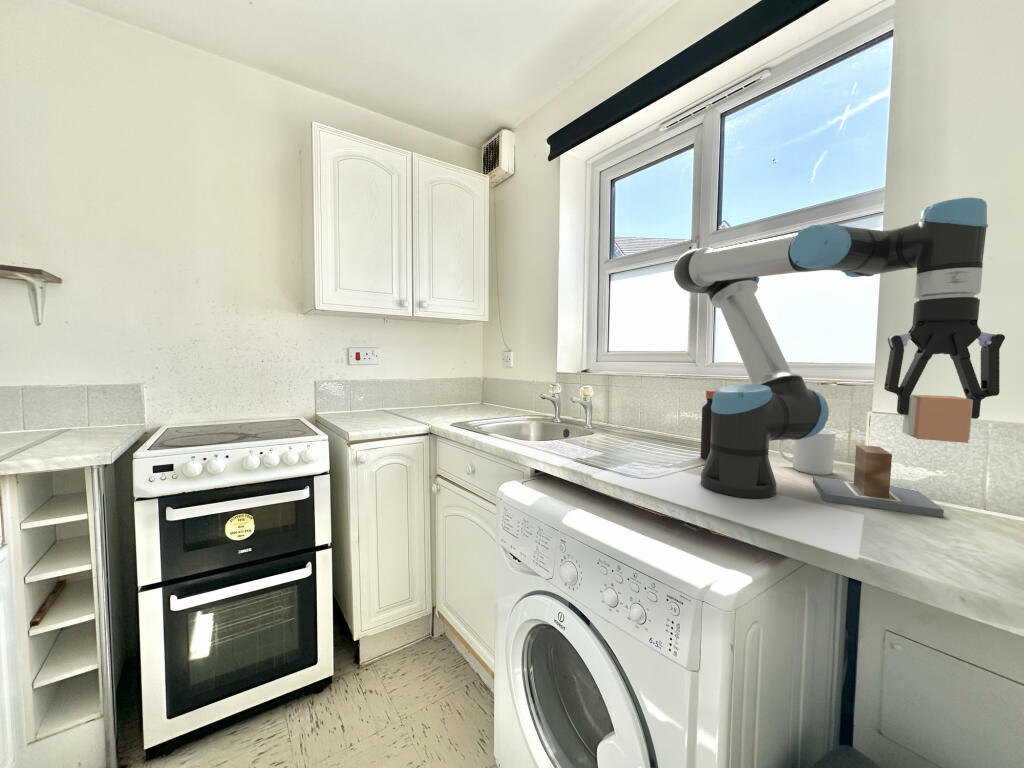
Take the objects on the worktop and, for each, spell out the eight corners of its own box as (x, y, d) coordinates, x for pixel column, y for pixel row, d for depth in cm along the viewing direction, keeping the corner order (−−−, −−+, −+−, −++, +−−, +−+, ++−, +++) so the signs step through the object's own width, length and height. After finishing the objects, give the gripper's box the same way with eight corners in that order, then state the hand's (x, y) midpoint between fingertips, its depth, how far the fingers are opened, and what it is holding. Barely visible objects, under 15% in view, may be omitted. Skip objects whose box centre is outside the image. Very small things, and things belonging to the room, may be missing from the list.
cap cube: (917, 439, 68) (920, 397, 68) (904, 433, 74) (907, 394, 73) (968, 442, 65) (971, 399, 65) (950, 436, 71) (954, 396, 70)
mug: (782, 462, 116) (784, 425, 115) (835, 470, 108) (837, 430, 107) (774, 468, 110) (776, 428, 109) (829, 477, 102) (832, 435, 101)
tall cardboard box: (863, 494, 85) (866, 452, 84) (853, 484, 92) (856, 444, 91) (888, 498, 83) (892, 454, 82) (876, 487, 90) (879, 446, 89)
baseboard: (824, 500, 85) (824, 493, 85) (812, 482, 97) (813, 476, 97) (943, 517, 77) (943, 509, 77) (914, 495, 89) (914, 488, 89)
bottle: (727, 462, 116) (729, 392, 114) (700, 459, 118) (703, 391, 117) (724, 456, 122) (727, 390, 121) (699, 454, 125) (702, 389, 123)
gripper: (878, 299, 69) (868, 433, 71) (1047, 291, 60) (1031, 446, 62) (865, 303, 76) (857, 427, 77) (1016, 297, 66) (1002, 437, 68)
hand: (934, 435), depth 70 cm, fingers closed on cap cube, 6 cm apart
